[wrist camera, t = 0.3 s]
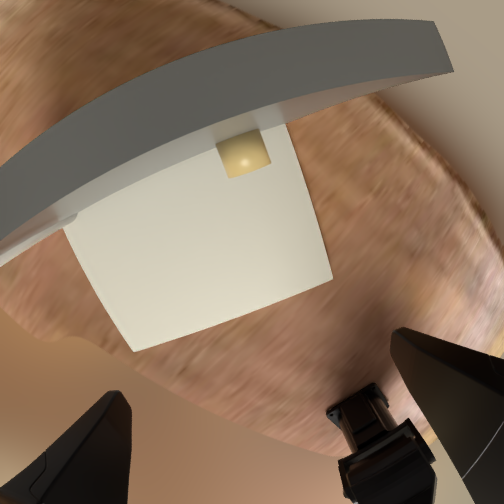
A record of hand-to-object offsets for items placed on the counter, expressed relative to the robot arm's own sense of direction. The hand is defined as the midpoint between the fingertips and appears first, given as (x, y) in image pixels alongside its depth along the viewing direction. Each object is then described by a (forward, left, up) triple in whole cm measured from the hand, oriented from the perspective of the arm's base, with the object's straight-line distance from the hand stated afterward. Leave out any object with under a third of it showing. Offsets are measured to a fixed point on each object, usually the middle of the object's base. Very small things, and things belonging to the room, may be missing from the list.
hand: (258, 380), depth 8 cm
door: (+7, 0, -12) cm, 14 cm away
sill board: (+2, +2, -13) cm, 14 cm away
